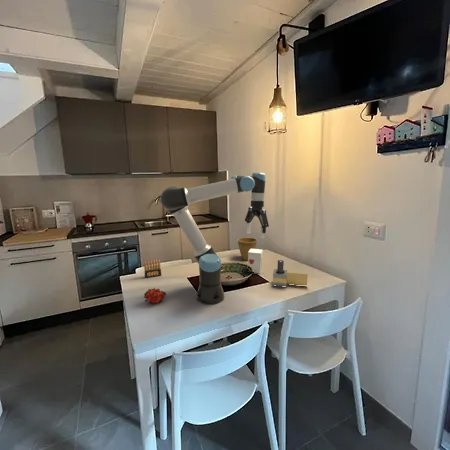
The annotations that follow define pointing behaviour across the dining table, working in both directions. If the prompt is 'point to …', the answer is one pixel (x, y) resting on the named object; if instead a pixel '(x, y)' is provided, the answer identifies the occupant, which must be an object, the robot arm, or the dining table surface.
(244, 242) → the plant pot
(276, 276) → the hinge
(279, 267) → the hinge pin
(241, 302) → the dining table surface
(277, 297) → the dining table surface
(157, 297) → the dragon fruit
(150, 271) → the ammunition clip
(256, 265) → the supplement box
